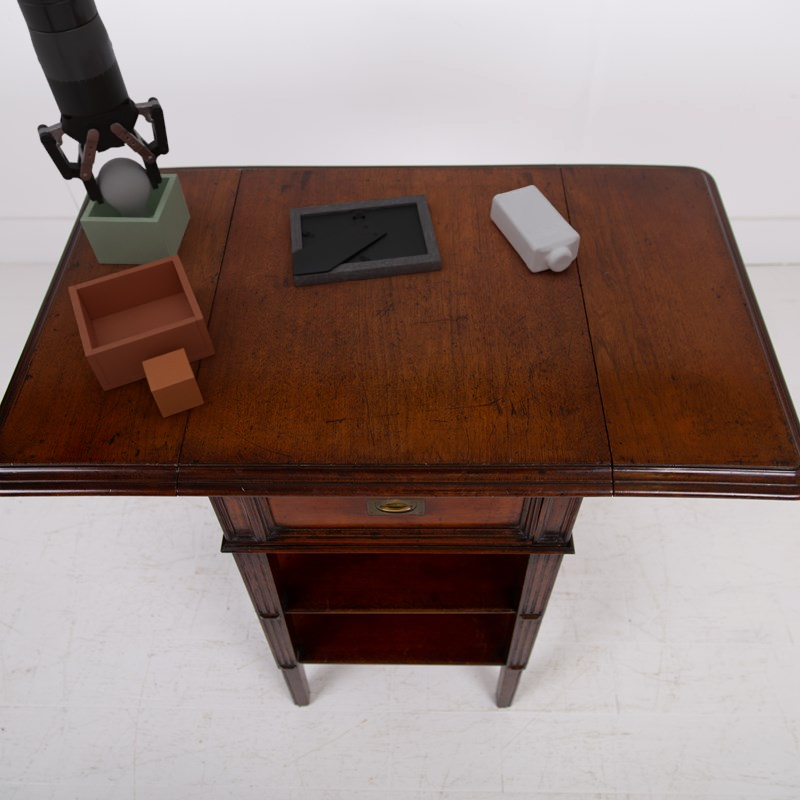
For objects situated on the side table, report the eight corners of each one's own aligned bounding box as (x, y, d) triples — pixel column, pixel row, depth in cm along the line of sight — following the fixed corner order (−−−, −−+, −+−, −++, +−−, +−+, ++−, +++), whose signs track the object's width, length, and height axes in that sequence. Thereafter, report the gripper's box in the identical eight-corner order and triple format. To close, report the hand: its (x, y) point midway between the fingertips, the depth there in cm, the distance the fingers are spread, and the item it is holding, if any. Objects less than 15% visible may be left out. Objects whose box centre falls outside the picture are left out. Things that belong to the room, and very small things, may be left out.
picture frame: (295, 286, 92) (441, 270, 93) (293, 274, 91) (441, 257, 92) (291, 218, 101) (425, 203, 102) (288, 205, 99) (425, 191, 100)
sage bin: (172, 265, 95) (157, 221, 90) (98, 263, 96) (79, 220, 91) (190, 217, 101) (177, 173, 96) (120, 215, 102) (103, 172, 97)
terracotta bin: (104, 391, 83) (85, 356, 78) (86, 323, 90) (67, 287, 85) (215, 354, 86) (203, 318, 81) (190, 290, 92) (177, 253, 88)
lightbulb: (141, 257, 95) (112, 183, 87) (110, 239, 98) (79, 165, 89) (177, 231, 98) (153, 158, 90) (146, 214, 101) (119, 141, 92)
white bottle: (536, 284, 91) (540, 257, 88) (489, 221, 99) (491, 194, 95) (583, 269, 93) (589, 242, 89) (533, 209, 100) (537, 182, 97)
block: (163, 418, 80) (151, 391, 77) (154, 388, 83) (141, 361, 79) (204, 403, 81) (194, 376, 78) (193, 375, 84) (183, 347, 80)
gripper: (12, 93, 76) (73, 227, 89) (153, 60, 79) (193, 193, 92) (4, 60, 80) (64, 192, 93) (138, 29, 84) (178, 161, 97)
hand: (128, 192), depth 93 cm, fingers closed on lightbulb, 6 cm apart
